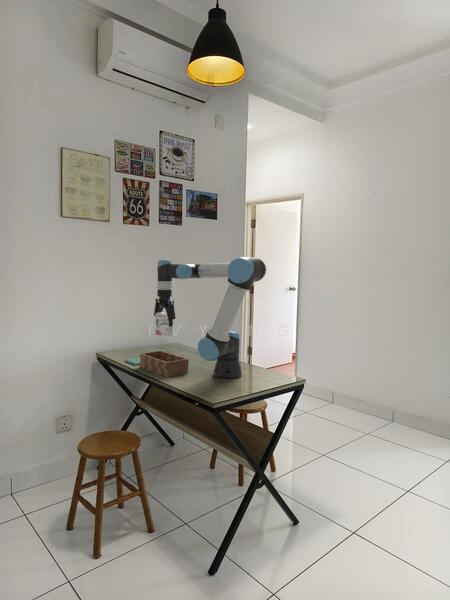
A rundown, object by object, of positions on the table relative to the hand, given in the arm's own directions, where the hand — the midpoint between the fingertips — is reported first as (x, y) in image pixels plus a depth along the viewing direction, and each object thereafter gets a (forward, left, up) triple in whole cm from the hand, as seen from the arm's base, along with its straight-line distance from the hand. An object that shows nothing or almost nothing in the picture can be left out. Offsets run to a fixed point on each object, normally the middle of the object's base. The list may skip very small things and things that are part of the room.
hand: (164, 330), depth 223 cm
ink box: (0, 0, -2) cm, 2 cm away
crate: (0, 0, -21) cm, 21 cm away
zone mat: (+23, +1, -21) cm, 31 cm away
